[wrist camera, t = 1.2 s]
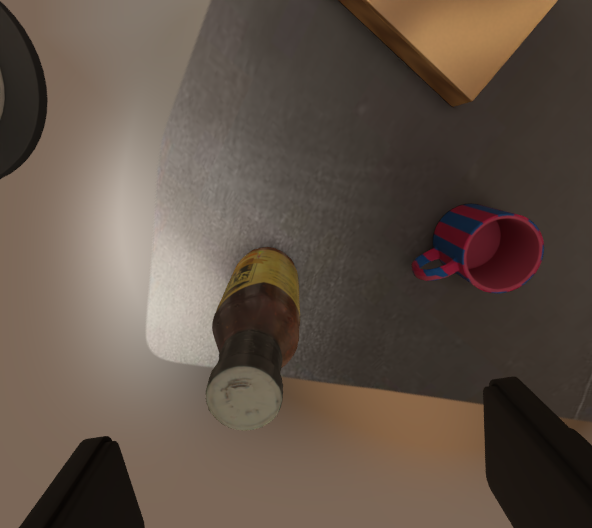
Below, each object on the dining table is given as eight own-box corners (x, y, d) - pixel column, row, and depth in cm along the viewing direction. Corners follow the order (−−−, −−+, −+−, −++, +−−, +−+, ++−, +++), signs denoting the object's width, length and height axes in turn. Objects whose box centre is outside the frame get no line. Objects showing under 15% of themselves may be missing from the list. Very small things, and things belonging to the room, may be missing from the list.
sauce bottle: (247, 235, 38) (206, 316, 19) (307, 258, 39) (326, 357, 20) (225, 295, 40) (167, 425, 21) (283, 315, 40) (280, 459, 21)
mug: (503, 261, 39) (546, 283, 33) (405, 284, 40) (428, 310, 33) (497, 196, 38) (541, 204, 31) (394, 220, 38) (416, 234, 31)
